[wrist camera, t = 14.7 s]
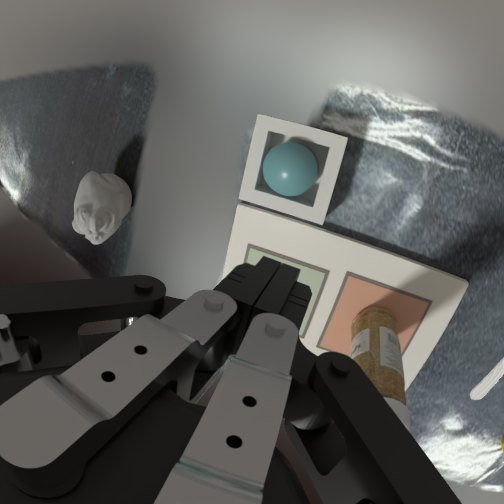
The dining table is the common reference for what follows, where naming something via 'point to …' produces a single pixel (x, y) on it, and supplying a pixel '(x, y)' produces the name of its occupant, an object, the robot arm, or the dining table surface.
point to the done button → (290, 168)
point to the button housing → (319, 194)
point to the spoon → (488, 381)
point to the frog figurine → (100, 205)
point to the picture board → (350, 283)
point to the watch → (502, 443)
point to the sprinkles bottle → (381, 356)
